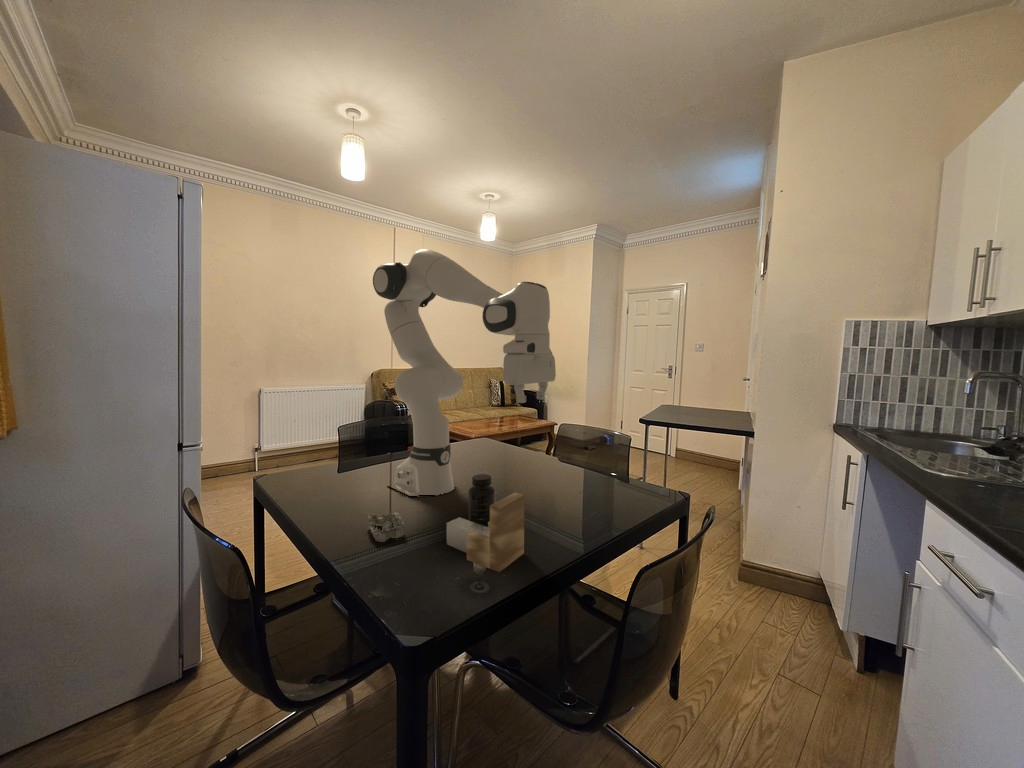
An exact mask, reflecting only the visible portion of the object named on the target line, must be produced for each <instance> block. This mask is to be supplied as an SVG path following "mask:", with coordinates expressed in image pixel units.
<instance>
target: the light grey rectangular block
mask: <svg viewBox="0 0 1024 768" xmlns="http://www.w3.org/2000/svg"><path fill="white" fill-rule="evenodd" d="M472 531H473V532H476V533H479V534H482V535H485V536H488V537H490V528H488V527H485V526H483V525H480V524H477V523H474V522H471V521H469V519H466V518H463V517H460V516H458V517H457V518H454V519H452V520H450V521H448V522H446V545H448V546H450V547H452V548H455V549H457V550H459V551H462V552H464V553H466V554H467V534H468V533H470V532H472Z"/></svg>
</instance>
